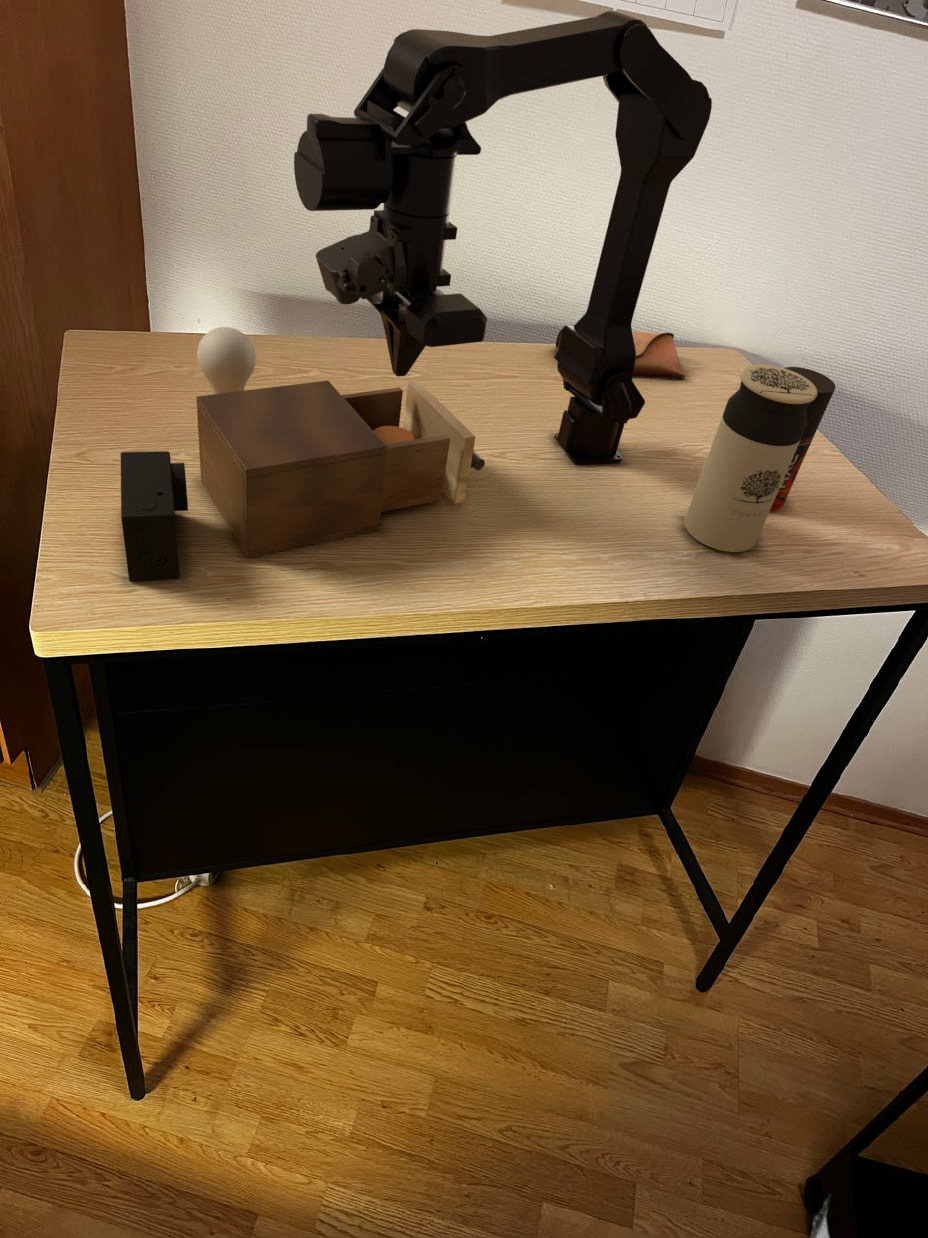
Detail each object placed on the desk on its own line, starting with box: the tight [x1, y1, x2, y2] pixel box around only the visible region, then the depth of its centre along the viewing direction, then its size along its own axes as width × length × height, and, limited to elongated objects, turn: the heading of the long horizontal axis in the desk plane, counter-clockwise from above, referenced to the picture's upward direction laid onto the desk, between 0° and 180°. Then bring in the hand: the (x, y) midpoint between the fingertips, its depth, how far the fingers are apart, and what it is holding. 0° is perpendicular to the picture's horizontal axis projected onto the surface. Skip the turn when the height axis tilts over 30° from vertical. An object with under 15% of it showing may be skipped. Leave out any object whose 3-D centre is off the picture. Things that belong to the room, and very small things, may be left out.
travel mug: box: [683, 364, 817, 553], centre depth 93 cm, size 8×8×18 cm
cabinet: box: [195, 380, 387, 559], centre depth 88 cm, size 14×14×10 cm
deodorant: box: [769, 366, 836, 513], centre depth 101 cm, size 6×6×15 cm
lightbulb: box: [196, 326, 257, 395], centre depth 98 cm, size 6×6×11 cm
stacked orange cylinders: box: [374, 426, 414, 445], centre depth 93 cm, size 5×5×4 cm
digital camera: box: [120, 450, 189, 582], centre depth 81 cm, size 10×5×7 cm, turn 17°
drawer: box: [341, 379, 486, 513], centre depth 94 cm, size 17×12×8 cm
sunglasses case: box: [555, 328, 686, 378], centre depth 128 cm, size 18×7×7 cm, turn 102°
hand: (399, 374), depth 88 cm, fingers closed
